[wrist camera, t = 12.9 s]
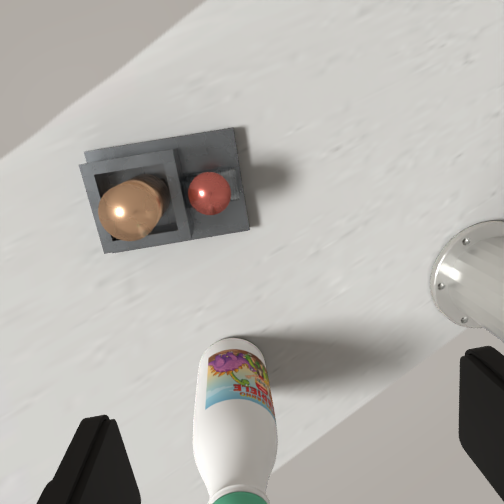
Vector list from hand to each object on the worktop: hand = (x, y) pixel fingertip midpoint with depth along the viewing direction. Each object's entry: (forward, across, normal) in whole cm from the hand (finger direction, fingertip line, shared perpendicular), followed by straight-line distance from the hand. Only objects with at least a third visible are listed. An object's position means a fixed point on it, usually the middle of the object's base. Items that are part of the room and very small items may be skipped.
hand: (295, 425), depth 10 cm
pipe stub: (+29, +9, -3) cm, 31 cm away
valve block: (+30, +6, -3) cm, 31 cm away
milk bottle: (+31, +4, +18) cm, 36 cm away
